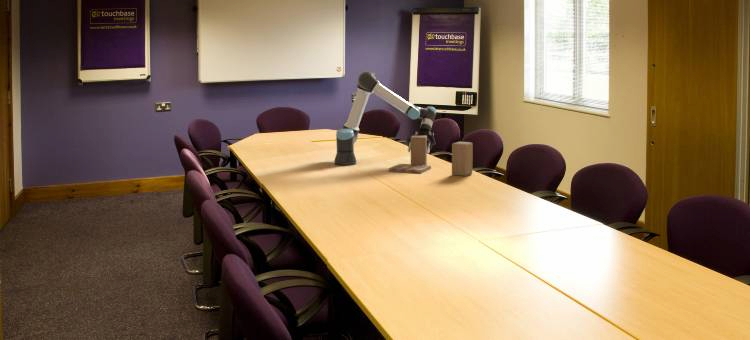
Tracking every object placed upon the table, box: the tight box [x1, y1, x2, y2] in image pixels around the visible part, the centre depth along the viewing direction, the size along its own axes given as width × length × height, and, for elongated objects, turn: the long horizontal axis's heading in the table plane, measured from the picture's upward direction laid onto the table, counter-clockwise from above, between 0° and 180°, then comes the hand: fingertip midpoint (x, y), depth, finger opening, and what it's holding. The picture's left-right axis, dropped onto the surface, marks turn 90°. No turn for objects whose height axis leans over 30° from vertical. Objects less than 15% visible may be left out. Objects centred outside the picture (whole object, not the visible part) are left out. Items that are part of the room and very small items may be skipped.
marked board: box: [388, 163, 432, 174], centre depth 455 cm, size 22×18×2 cm
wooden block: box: [410, 135, 428, 165], centre depth 468 cm, size 10×10×20 cm
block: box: [451, 141, 474, 177], centre depth 436 cm, size 10×10×20 cm
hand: (418, 151), depth 466 cm, fingers open, 13 cm apart
